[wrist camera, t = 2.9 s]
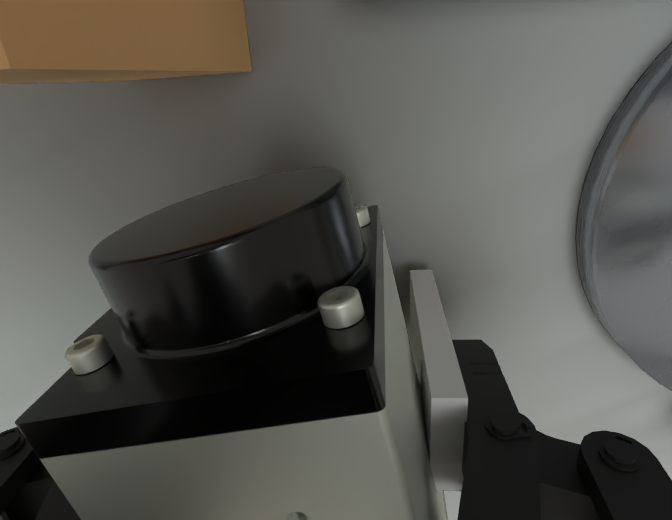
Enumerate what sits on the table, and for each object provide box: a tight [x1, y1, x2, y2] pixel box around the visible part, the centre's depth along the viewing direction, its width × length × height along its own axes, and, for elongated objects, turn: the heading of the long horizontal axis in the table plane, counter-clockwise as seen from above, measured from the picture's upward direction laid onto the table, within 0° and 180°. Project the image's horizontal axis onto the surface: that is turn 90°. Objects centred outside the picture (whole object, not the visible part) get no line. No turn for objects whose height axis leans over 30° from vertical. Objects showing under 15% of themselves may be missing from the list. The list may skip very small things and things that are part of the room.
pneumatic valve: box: [15, 168, 448, 520], centre depth 11 cm, size 6×12×12 cm, turn 15°
